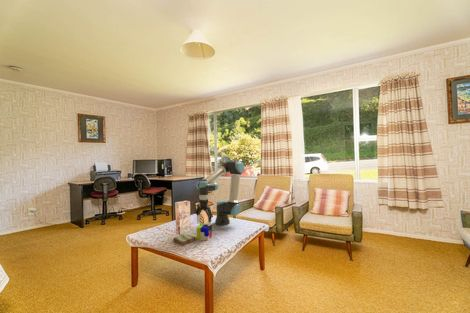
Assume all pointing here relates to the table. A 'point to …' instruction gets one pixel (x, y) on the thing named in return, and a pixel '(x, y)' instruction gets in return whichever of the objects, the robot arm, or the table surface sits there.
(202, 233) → the puzzle toy
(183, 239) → the plinth
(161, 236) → the table surface
